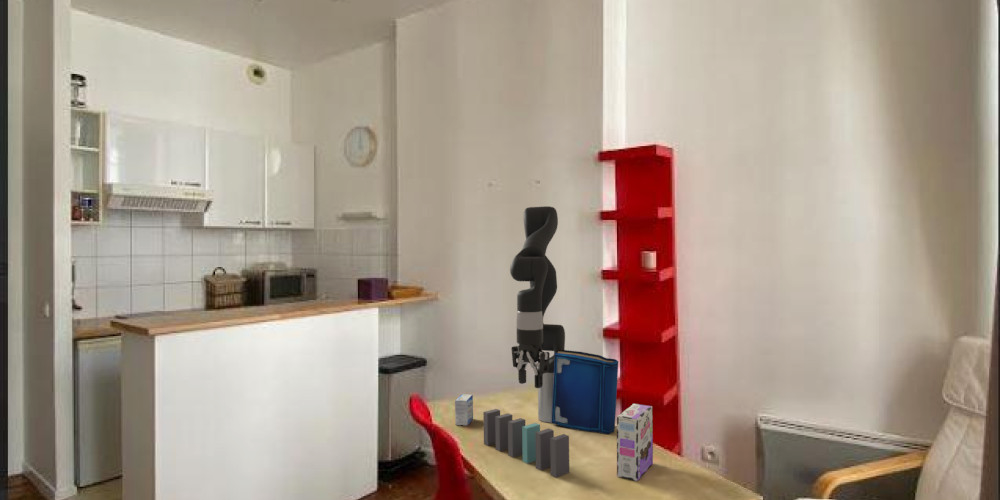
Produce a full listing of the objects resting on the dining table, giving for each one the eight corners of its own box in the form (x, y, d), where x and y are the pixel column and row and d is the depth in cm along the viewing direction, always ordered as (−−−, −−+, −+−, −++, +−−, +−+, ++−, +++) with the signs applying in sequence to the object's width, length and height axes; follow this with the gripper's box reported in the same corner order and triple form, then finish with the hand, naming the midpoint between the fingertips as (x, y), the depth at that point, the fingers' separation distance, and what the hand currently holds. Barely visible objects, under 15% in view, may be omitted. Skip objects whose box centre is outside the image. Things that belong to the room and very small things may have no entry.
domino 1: (496, 440, 177) (496, 408, 177) (500, 442, 175) (500, 410, 175) (483, 444, 174) (483, 411, 174) (487, 445, 172) (487, 413, 172)
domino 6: (564, 470, 153) (563, 433, 153) (569, 472, 152) (568, 435, 152) (550, 475, 150) (550, 438, 150) (555, 477, 149) (555, 440, 149)
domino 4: (535, 457, 163) (535, 422, 163) (540, 459, 161) (540, 424, 161) (522, 461, 160) (522, 426, 160) (527, 463, 158) (526, 428, 158)
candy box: (637, 482, 146) (637, 419, 145) (616, 477, 149) (615, 415, 148) (653, 463, 157) (653, 405, 157) (633, 459, 160) (632, 402, 160)
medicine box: (467, 426, 191) (467, 400, 191) (455, 425, 192) (454, 400, 192) (473, 418, 199) (473, 394, 198) (461, 418, 199) (460, 394, 199)
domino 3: (521, 451, 167) (521, 418, 167) (525, 453, 166) (525, 419, 166) (508, 455, 164) (507, 421, 164) (512, 457, 163) (512, 423, 163)
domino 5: (549, 463, 158) (548, 428, 158) (553, 465, 156) (553, 430, 156) (535, 468, 155) (535, 432, 155) (540, 470, 153) (540, 434, 153)
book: (619, 431, 186) (620, 356, 185) (612, 438, 180) (614, 360, 179) (558, 419, 196) (560, 348, 195) (550, 425, 190) (551, 352, 189)
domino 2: (508, 445, 172) (508, 413, 172) (512, 447, 171) (512, 414, 170) (495, 449, 169) (495, 416, 169) (499, 451, 168) (499, 418, 167)
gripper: (556, 328, 156) (557, 388, 157) (523, 322, 168) (523, 378, 168) (537, 331, 152) (537, 393, 152) (503, 325, 163) (504, 382, 163)
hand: (530, 385), depth 160 cm, fingers open, 6 cm apart
